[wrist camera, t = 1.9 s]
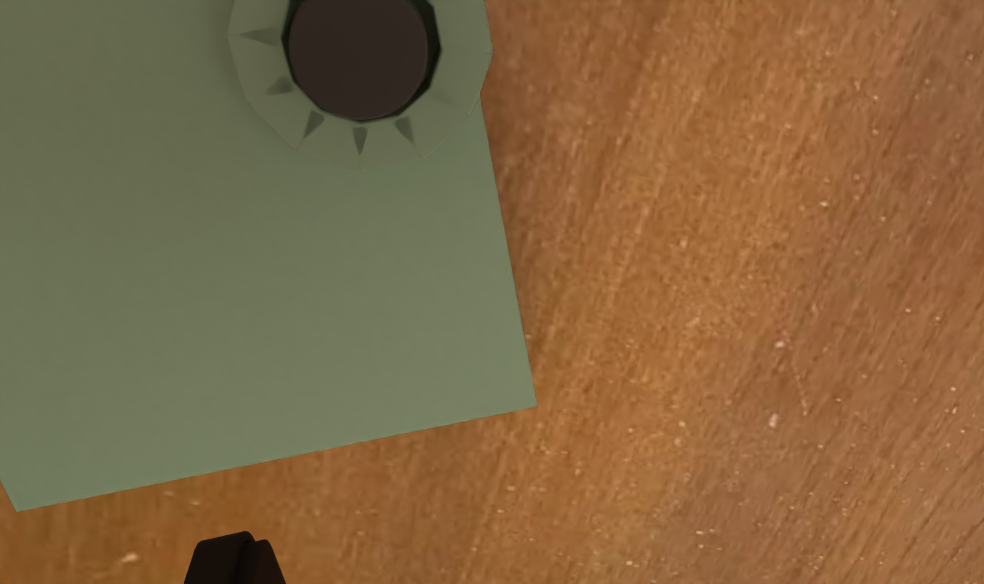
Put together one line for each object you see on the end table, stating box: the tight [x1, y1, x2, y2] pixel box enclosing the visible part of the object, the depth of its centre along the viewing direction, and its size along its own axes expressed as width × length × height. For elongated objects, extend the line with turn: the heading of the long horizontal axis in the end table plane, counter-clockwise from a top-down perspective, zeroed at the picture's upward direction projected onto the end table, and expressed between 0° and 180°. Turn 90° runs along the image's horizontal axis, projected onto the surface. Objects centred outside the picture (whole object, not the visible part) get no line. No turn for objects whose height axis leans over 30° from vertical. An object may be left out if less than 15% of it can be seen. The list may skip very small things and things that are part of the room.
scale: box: [0, 0, 537, 512], centre depth 23 cm, size 16×14×4 cm
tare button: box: [289, 0, 428, 120], centre depth 19 cm, size 3×3×2 cm
